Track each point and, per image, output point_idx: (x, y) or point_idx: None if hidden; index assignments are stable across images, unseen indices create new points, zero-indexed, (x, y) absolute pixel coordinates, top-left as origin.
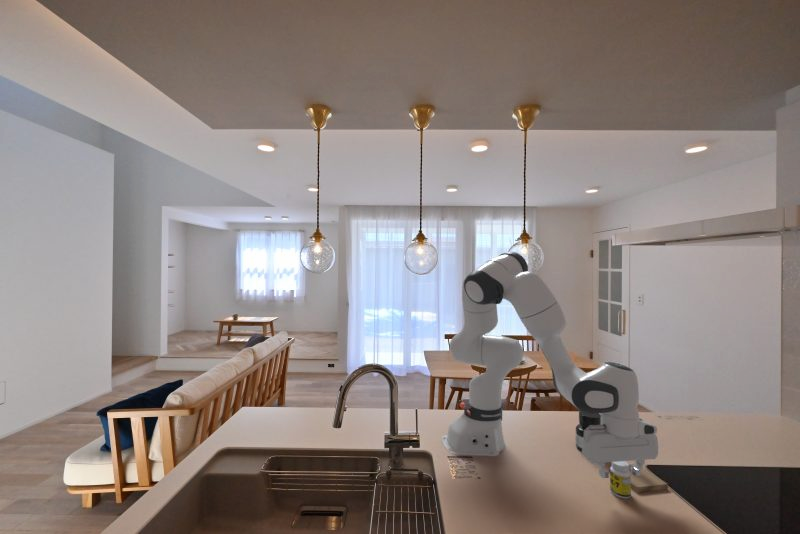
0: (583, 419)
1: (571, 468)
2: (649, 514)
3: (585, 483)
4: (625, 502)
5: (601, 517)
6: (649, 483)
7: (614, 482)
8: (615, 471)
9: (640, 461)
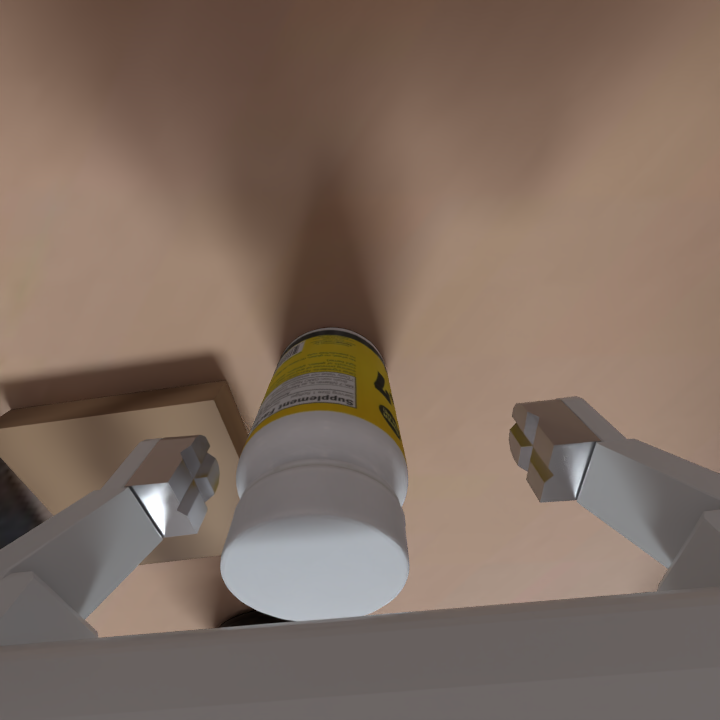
0: None
1: (455, 539)
2: (266, 156)
3: (475, 448)
4: (358, 293)
5: (666, 125)
6: (104, 434)
7: (393, 404)
8: (395, 474)
9: (1, 608)
